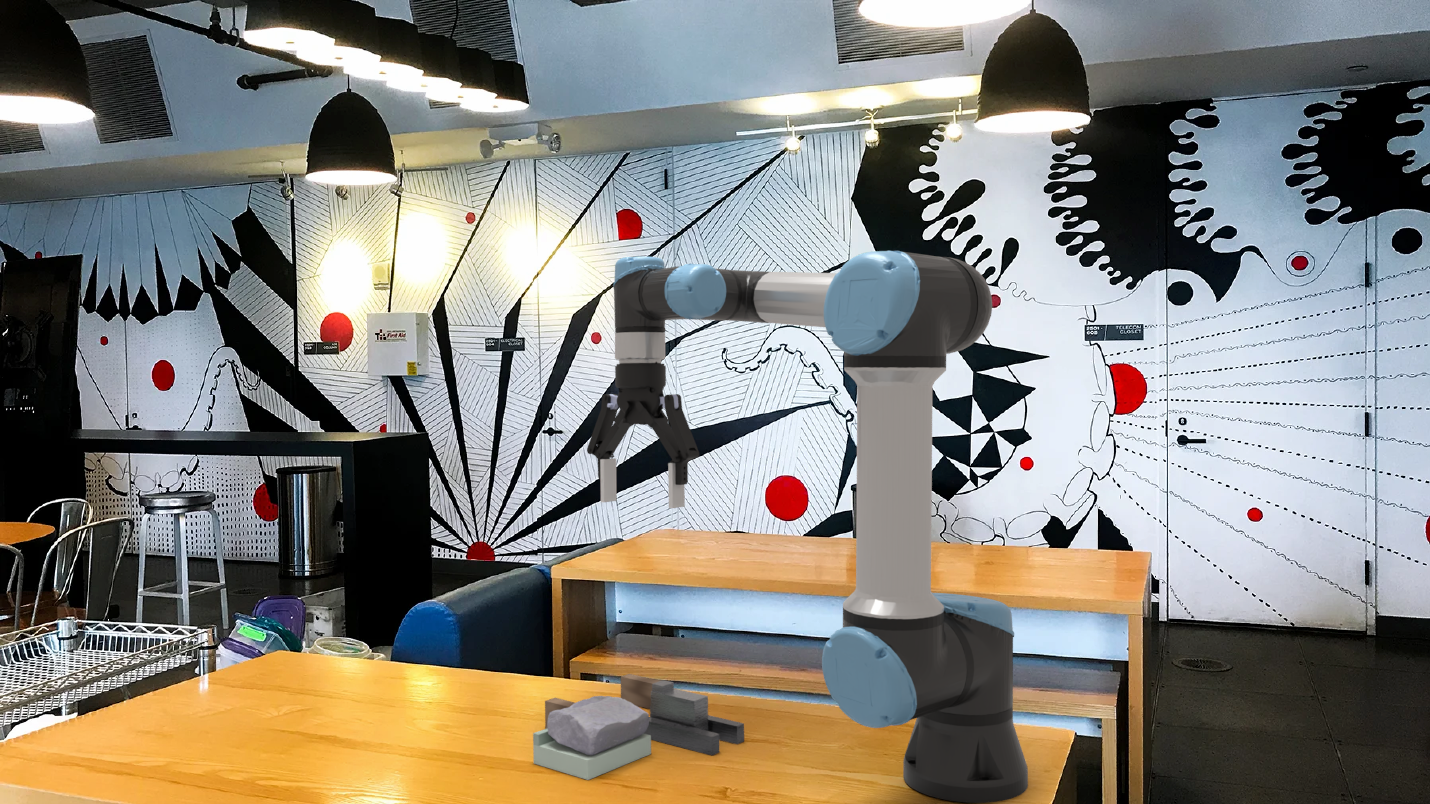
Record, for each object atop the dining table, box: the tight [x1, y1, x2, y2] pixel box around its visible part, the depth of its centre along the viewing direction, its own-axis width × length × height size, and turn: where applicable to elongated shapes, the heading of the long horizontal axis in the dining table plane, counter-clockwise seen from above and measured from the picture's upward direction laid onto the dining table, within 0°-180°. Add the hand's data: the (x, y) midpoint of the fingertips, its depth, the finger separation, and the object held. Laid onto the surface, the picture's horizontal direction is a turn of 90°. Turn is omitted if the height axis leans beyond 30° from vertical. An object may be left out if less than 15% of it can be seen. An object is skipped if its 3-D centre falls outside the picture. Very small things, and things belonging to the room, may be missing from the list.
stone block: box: [547, 695, 650, 755], centre depth 146 cm, size 12×5×10 cm
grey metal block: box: [651, 679, 709, 731], centre depth 155 cm, size 8×3×7 cm, turn 52°
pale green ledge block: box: [532, 728, 652, 781], centre depth 146 cm, size 10×12×4 cm
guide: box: [644, 706, 745, 756], centre depth 155 cm, size 16×7×2 cm, turn 52°
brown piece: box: [544, 673, 661, 729], centre depth 164 cm, size 9×18×4 cm, turn 142°
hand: (641, 504), depth 164 cm, fingers open, 13 cm apart
